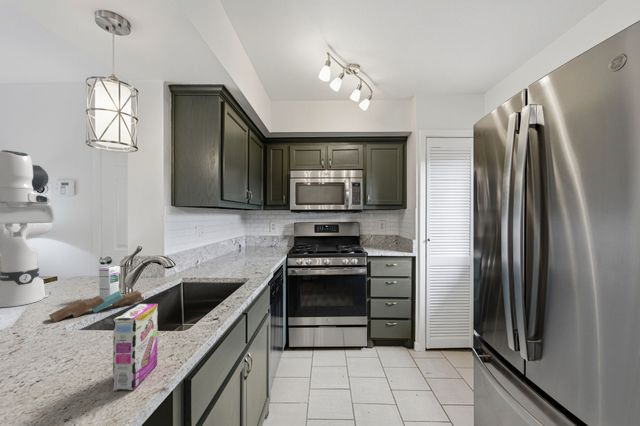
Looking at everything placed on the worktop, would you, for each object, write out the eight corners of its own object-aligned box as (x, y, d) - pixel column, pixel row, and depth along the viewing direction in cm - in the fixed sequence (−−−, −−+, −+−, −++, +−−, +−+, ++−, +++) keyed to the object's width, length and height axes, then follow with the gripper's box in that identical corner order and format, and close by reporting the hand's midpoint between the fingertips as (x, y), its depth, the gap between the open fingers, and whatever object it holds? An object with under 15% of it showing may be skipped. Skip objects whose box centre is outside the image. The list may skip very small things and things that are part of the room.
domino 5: (119, 303, 121) (143, 297, 130) (113, 301, 123) (137, 295, 132) (119, 308, 121) (143, 301, 130) (113, 306, 124) (137, 299, 132)
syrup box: (109, 300, 129) (109, 268, 129) (98, 299, 131) (98, 267, 130) (120, 296, 135) (120, 265, 135) (110, 296, 136) (110, 265, 136)
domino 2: (72, 313, 108) (102, 297, 115) (68, 310, 111) (98, 295, 118) (74, 318, 109) (104, 301, 116) (71, 314, 112) (100, 299, 119)
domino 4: (113, 301, 118) (140, 293, 125) (110, 298, 122) (137, 290, 129) (114, 306, 119) (141, 297, 126) (111, 303, 122) (138, 294, 129)
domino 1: (52, 318, 104) (84, 301, 111) (48, 315, 107) (80, 299, 114) (54, 322, 104) (86, 305, 112) (51, 319, 107) (82, 303, 115)
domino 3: (94, 308, 117) (121, 294, 123) (94, 313, 114) (122, 298, 119) (91, 304, 117) (119, 290, 122) (92, 309, 113) (120, 294, 118)
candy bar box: (135, 391, 65) (135, 318, 65) (112, 392, 65) (111, 319, 64) (159, 364, 76) (158, 302, 76) (139, 365, 76) (138, 303, 76)
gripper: (-28, 195, 91) (-27, 240, 91) (56, 198, 109) (56, 235, 109) (-33, 196, 94) (-33, 239, 94) (49, 198, 112) (49, 234, 112)
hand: (16, 236), depth 101 cm, fingers closed
